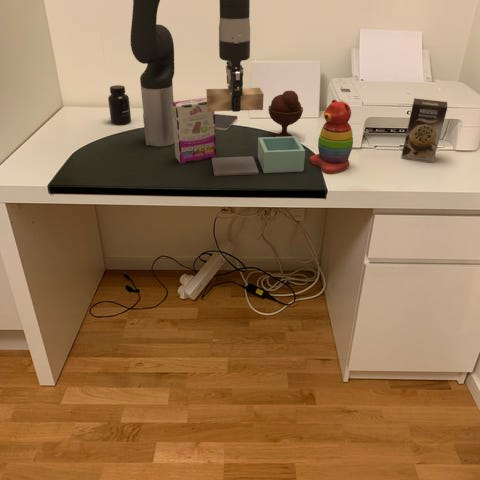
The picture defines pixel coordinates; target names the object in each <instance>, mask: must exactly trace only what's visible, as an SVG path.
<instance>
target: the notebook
mask: <svg viewBox="0 0 480 480" xmlns="http://www.w3.org/2000/svg"><path fill="white" fill-rule="evenodd" d="M237 120H238V116H237V115H232V114H231V115H229V114H219V113H217V114H216V113H215V130H217V129H218V130H219V131H228V130H229V129H230V128H231V127H232V125H233V124H234V123H235V122H236V121H237Z"/></svg>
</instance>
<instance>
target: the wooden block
mask: <svg viewBox="0 0 480 480" xmlns="http://www.w3.org/2000/svg"><path fill="white" fill-rule="evenodd" d="M205 90H206V98H207V107H208V112H209V111H215V112H233V111H232V97H231V89H228V88H206V89H205ZM234 91H239V88H234ZM242 92H243V95H242V96H241V109H240V111H263V110H264V93H263V90H262V89H261V87H243V89H242ZM240 111H239V112H240Z"/></svg>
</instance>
